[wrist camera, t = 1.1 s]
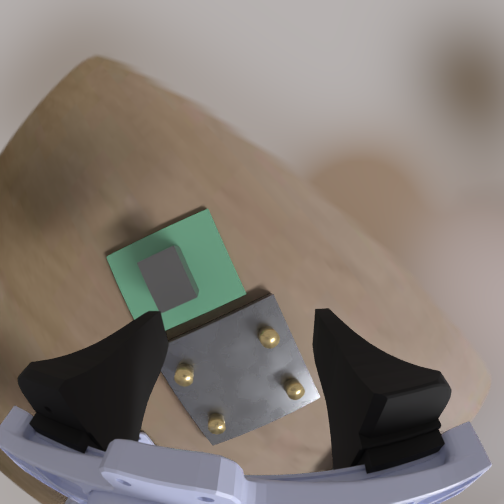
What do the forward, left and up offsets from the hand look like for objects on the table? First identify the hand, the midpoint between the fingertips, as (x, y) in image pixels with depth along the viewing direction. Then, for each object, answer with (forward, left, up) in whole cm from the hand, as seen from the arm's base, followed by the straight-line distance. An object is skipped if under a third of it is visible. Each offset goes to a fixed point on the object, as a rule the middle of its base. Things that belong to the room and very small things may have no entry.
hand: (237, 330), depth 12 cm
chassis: (-2, -8, -12) cm, 14 cm away
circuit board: (-3, +3, -12) cm, 13 cm away
